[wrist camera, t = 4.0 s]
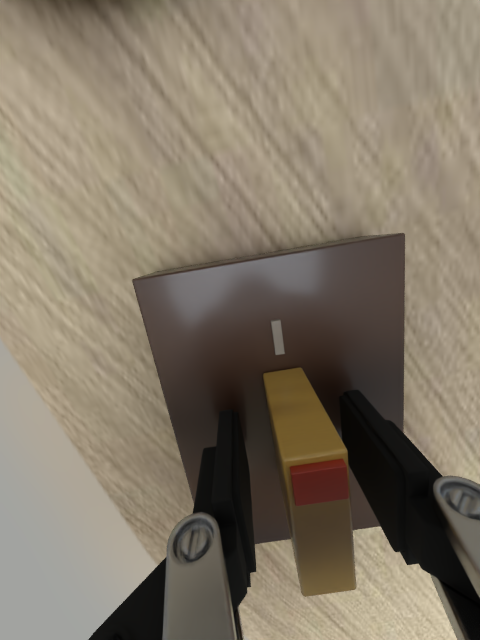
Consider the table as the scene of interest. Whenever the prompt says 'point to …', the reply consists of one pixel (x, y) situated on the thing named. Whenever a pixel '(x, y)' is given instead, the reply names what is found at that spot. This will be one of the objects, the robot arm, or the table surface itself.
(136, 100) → the table surface
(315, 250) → the plate
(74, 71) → the table surface
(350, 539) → the lock knob
